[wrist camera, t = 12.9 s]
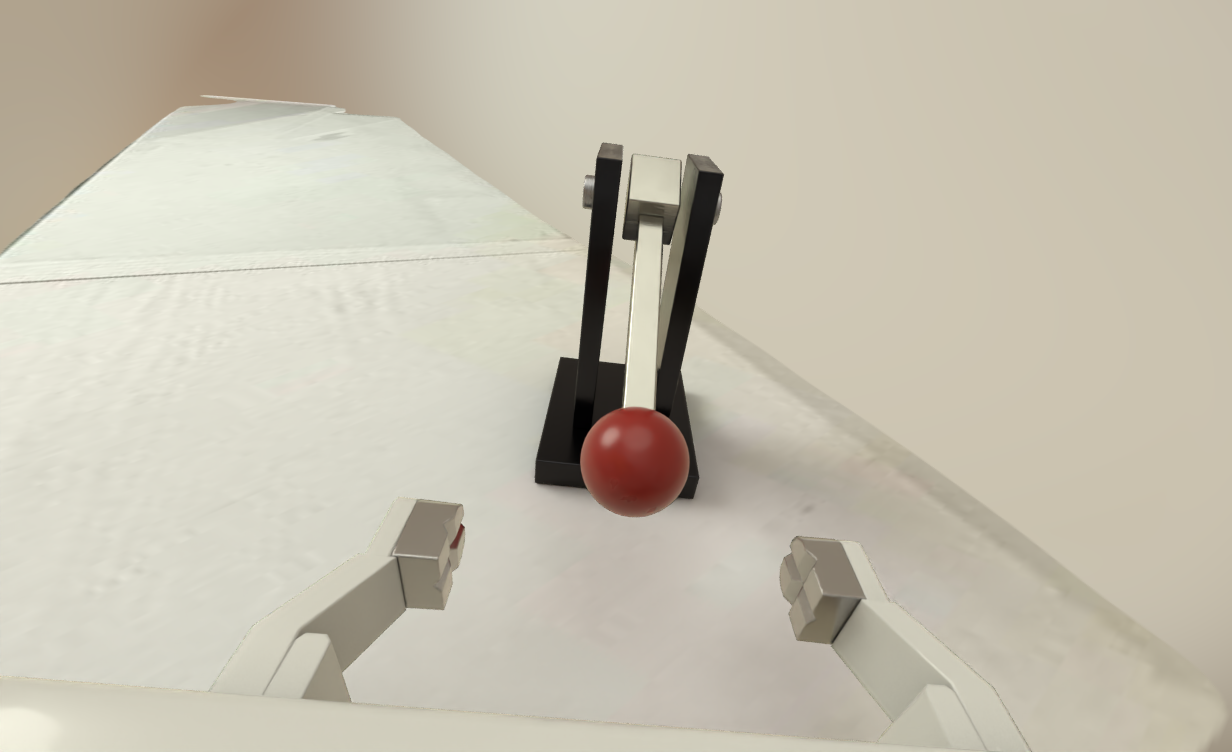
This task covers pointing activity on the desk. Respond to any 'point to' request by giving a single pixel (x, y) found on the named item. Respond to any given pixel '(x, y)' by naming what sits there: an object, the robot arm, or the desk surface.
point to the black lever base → (587, 381)
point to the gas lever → (641, 364)
